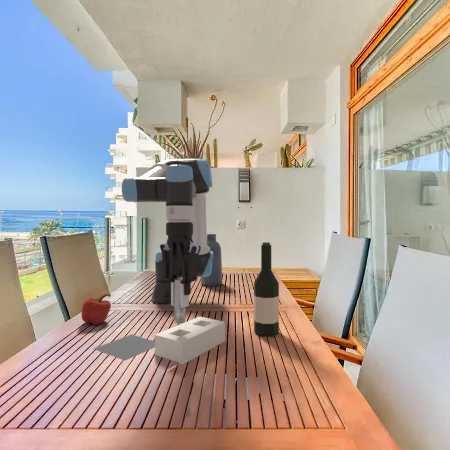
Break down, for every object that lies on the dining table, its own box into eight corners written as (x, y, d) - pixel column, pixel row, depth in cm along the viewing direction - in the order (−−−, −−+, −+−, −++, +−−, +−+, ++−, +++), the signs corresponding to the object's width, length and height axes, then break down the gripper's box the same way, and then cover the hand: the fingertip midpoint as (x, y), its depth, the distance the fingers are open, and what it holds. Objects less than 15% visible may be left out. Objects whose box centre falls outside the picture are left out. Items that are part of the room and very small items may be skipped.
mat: (93, 349, 97) (93, 348, 97) (131, 335, 109) (131, 334, 109) (125, 361, 90) (125, 360, 90) (162, 344, 101) (162, 343, 101)
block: (182, 365, 87) (181, 342, 87) (154, 356, 93) (154, 334, 93) (225, 341, 104) (225, 321, 104) (199, 334, 110) (199, 316, 109)
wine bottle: (280, 329, 114) (281, 241, 113) (276, 338, 106) (276, 243, 105) (257, 327, 117) (256, 241, 116) (250, 335, 109) (250, 243, 108)
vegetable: (105, 316, 130) (105, 290, 130) (118, 322, 123) (117, 295, 122) (76, 322, 122) (76, 295, 122) (88, 329, 115) (87, 300, 115)
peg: (172, 322, 93) (172, 279, 93) (179, 319, 96) (179, 277, 96) (180, 324, 92) (180, 280, 92) (187, 321, 94) (187, 278, 94)
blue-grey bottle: (226, 283, 192) (226, 234, 191) (214, 287, 182) (214, 235, 181) (209, 281, 199) (208, 233, 198) (196, 284, 188) (196, 234, 188)
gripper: (149, 221, 95) (150, 304, 95) (192, 221, 86) (193, 313, 86) (168, 221, 101) (168, 299, 101) (210, 221, 92) (210, 306, 92)
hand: (180, 305), depth 94 cm, fingers closed on peg, 3 cm apart
